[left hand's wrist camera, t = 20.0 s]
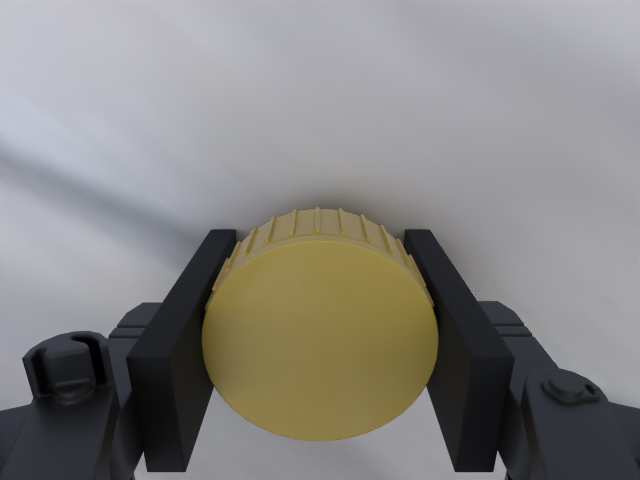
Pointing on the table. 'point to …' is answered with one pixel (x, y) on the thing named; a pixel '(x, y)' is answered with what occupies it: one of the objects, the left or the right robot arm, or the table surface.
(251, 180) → the table surface
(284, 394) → the lid
